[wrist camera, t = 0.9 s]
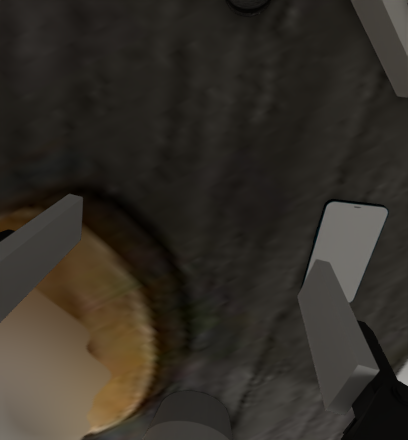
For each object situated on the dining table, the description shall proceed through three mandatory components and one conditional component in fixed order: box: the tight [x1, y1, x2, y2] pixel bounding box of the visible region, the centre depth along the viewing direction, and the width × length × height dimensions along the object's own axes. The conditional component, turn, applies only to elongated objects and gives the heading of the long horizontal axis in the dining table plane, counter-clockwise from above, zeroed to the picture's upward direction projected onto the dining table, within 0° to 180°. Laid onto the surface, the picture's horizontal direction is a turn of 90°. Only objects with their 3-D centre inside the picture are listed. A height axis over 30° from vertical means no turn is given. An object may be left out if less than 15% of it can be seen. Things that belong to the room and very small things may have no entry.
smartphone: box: [300, 199, 389, 303], centre depth 42 cm, size 8×1×16 cm
